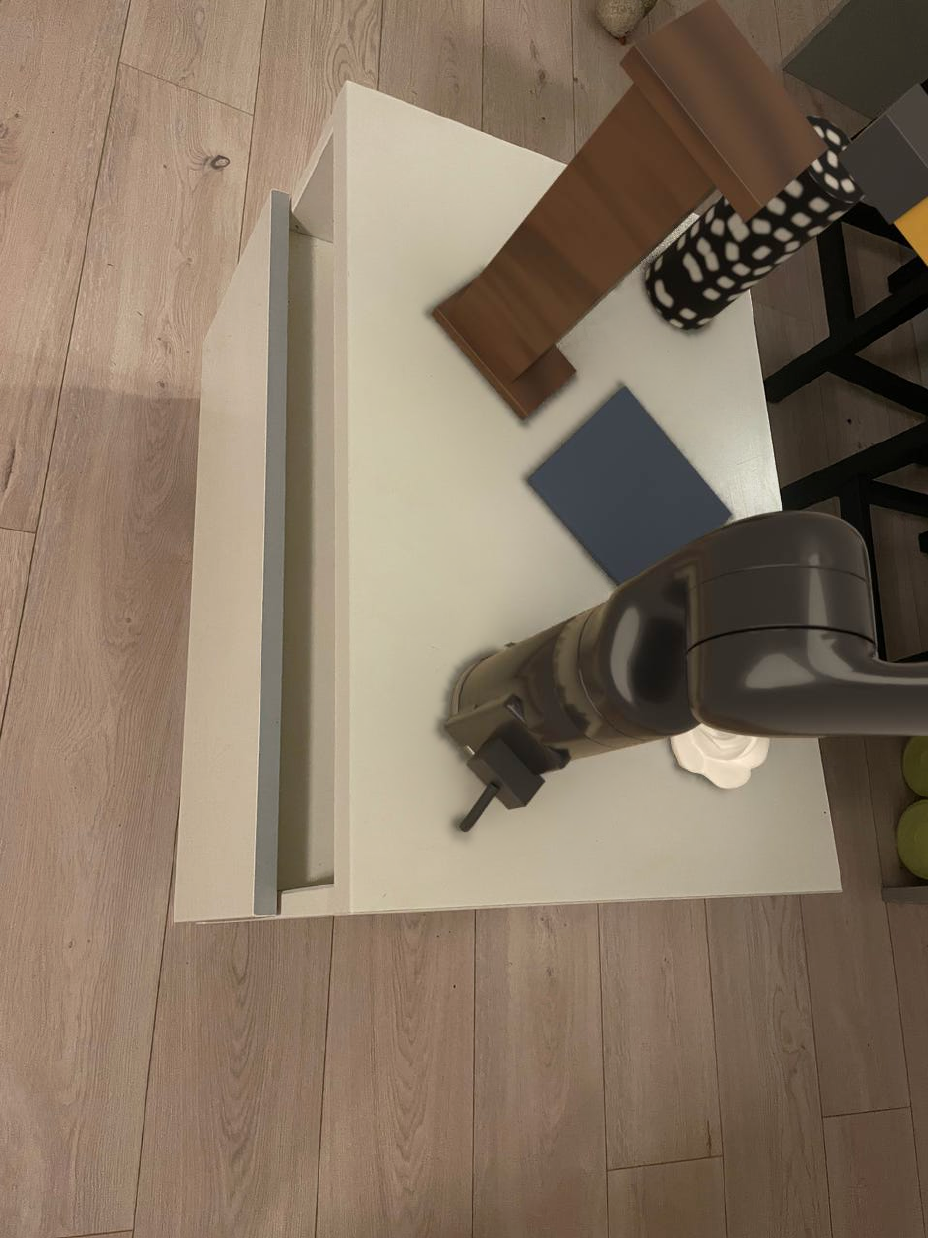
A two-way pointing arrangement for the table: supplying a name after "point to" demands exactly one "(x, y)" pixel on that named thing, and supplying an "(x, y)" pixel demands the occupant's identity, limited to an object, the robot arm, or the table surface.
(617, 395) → the desk mat
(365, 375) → the table surface
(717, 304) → the white-spotted black cylinder
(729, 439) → the table surface
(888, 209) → the pen box
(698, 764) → the rose
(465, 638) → the table surface
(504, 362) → the stand
